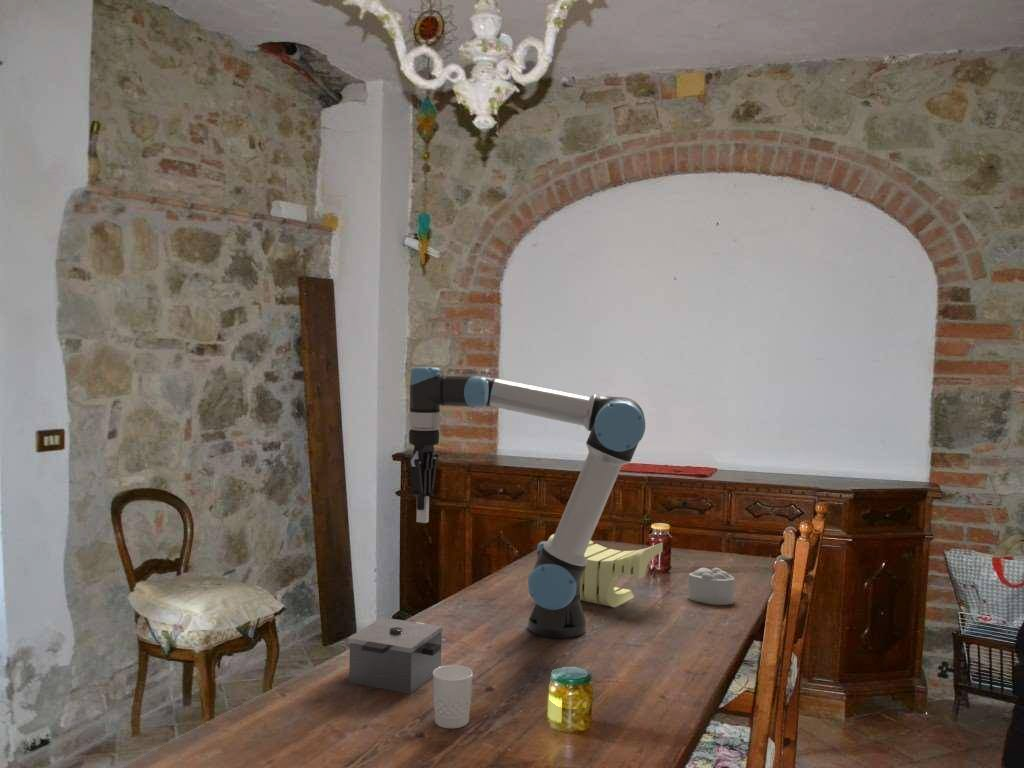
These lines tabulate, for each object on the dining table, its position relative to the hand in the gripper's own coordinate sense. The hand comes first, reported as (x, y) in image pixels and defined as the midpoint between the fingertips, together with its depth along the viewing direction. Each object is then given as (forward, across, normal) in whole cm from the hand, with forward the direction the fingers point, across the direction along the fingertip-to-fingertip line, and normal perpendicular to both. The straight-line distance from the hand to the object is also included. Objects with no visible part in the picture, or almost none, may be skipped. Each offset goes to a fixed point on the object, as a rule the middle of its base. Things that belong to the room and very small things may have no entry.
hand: (422, 521), depth 224 cm
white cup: (+30, +42, +28) cm, 58 cm away
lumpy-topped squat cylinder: (+30, -65, +64) cm, 96 cm away
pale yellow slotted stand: (+30, -51, +34) cm, 68 cm away
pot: (+29, +26, +7) cm, 40 cm away
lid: (+20, +27, +7) cm, 35 cm away
